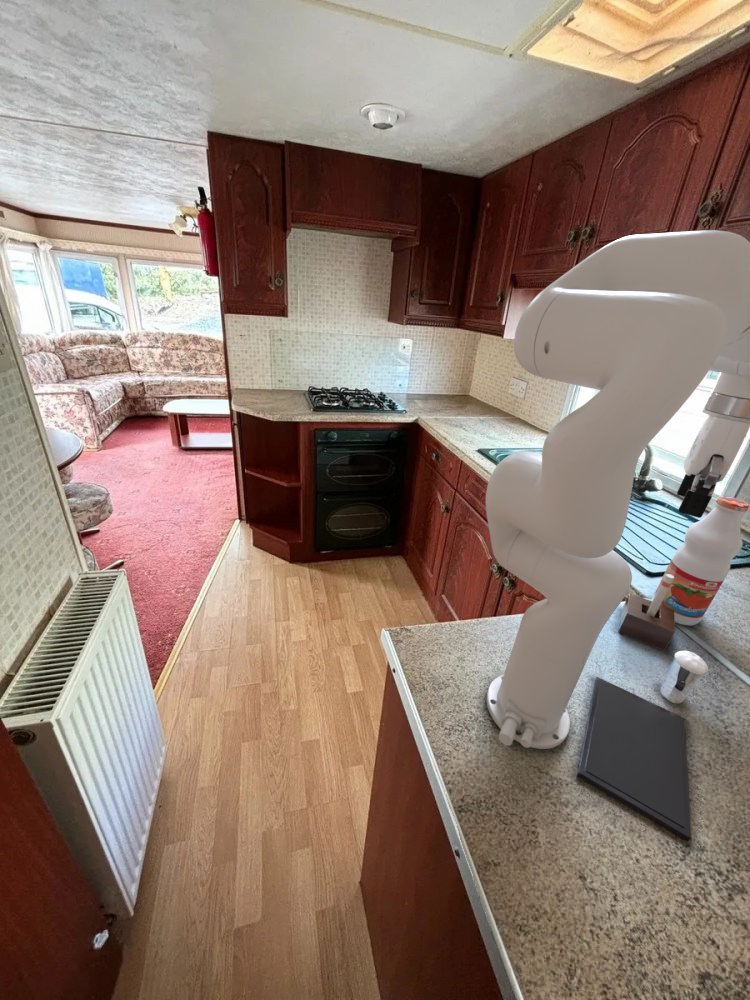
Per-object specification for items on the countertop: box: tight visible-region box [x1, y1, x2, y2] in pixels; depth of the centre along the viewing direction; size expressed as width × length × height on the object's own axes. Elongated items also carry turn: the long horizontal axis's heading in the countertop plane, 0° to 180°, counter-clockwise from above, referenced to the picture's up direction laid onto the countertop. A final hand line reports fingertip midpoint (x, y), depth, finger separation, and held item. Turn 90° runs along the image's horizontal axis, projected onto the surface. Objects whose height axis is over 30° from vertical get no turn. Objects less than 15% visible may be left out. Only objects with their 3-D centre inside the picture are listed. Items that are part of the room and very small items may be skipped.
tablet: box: [576, 676, 692, 843], centre depth 60 cm, size 20×13×1 cm, turn 147°
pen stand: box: [618, 593, 676, 652], centre depth 83 cm, size 8×8×5 cm
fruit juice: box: [651, 495, 750, 626], centre depth 85 cm, size 9×9×28 cm
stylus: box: [646, 574, 674, 617], centre depth 81 cm, size 1×1×14 cm
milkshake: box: [660, 650, 715, 704], centre depth 67 cm, size 4×5×10 cm
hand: (687, 505), depth 71 cm, fingers open, 9 cm apart
